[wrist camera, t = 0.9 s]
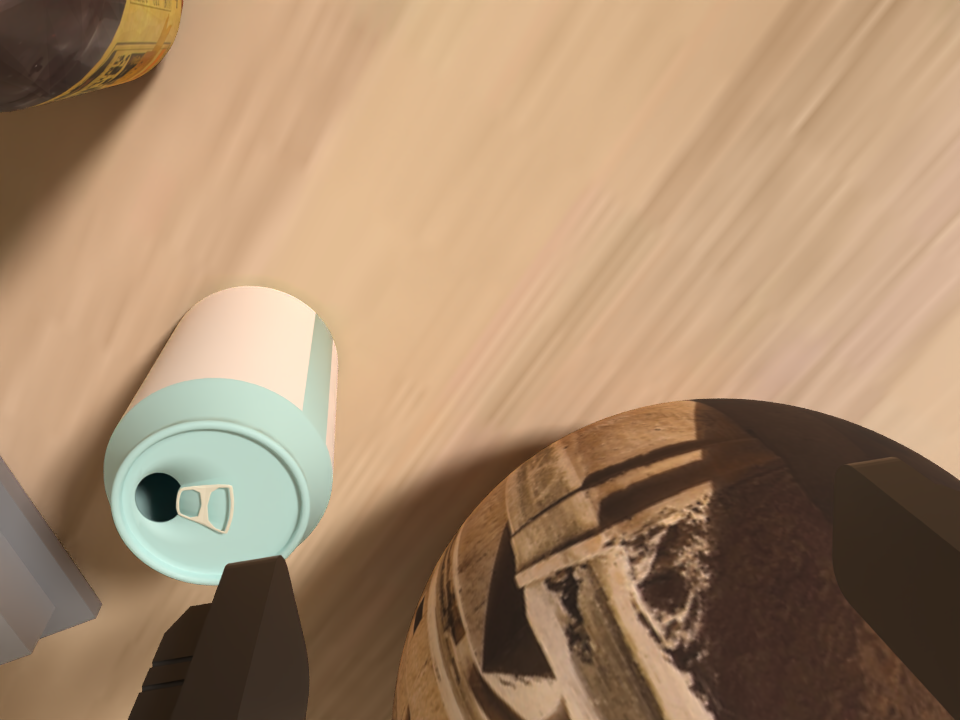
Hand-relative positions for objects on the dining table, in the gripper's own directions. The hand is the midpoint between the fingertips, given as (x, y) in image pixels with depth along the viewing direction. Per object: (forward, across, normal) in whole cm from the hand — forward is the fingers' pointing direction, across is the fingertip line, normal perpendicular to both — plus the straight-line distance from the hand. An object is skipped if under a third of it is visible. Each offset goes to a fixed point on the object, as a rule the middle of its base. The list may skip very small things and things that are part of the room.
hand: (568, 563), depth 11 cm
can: (+24, +9, +3) cm, 26 cm away
